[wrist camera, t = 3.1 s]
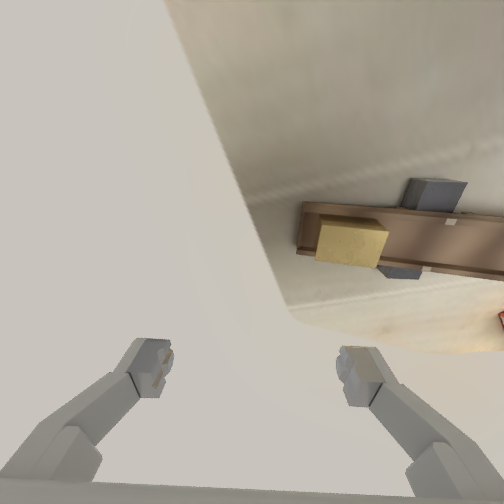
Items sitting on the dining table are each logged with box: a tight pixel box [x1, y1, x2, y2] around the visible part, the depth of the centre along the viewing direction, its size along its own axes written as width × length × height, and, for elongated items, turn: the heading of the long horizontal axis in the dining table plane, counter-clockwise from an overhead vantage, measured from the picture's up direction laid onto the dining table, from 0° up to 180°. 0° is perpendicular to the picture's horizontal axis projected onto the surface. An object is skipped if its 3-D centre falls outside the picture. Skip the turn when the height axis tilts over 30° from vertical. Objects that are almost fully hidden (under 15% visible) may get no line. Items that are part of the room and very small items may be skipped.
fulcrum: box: [377, 178, 468, 279], centre depth 24 cm, size 4×12×2 cm, turn 179°
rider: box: [314, 214, 389, 268], centre depth 21 cm, size 6×4×4 cm, turn 87°
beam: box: [296, 202, 504, 281], centre depth 22 cm, size 28×6×4 cm, turn 87°
